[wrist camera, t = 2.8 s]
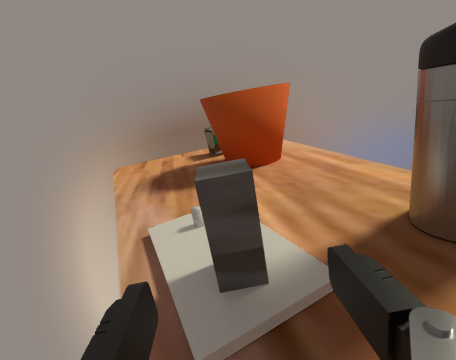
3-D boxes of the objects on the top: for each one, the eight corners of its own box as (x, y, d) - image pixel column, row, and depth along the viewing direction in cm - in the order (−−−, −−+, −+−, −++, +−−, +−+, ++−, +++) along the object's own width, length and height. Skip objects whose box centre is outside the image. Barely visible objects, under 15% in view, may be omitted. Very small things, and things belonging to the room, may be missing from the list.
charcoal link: (218, 262, 26) (197, 167, 23) (259, 254, 26) (244, 158, 23) (220, 293, 22) (194, 181, 19) (269, 283, 22) (252, 170, 19)
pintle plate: (149, 235, 38) (142, 211, 36) (228, 206, 43) (223, 185, 42) (199, 374, 17) (186, 329, 15) (341, 285, 22) (340, 246, 21)
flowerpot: (210, 160, 83) (198, 101, 77) (278, 146, 85) (272, 88, 79) (218, 180, 59) (201, 97, 53) (312, 160, 62) (306, 78, 56)
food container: (233, 153, 88) (228, 125, 85) (217, 157, 86) (212, 129, 83) (222, 149, 99) (218, 125, 96) (208, 152, 97) (203, 128, 94)
